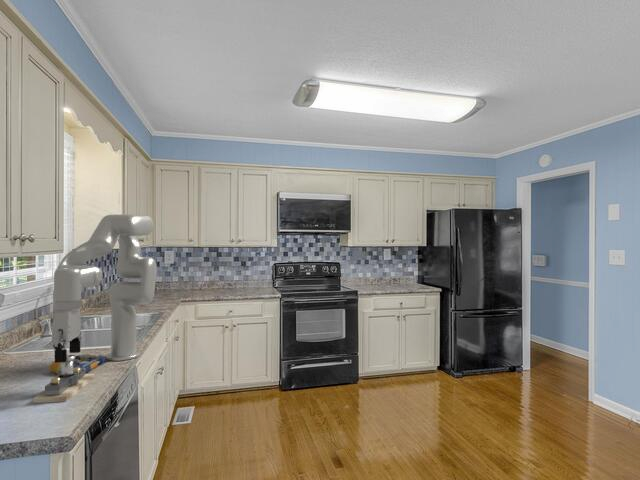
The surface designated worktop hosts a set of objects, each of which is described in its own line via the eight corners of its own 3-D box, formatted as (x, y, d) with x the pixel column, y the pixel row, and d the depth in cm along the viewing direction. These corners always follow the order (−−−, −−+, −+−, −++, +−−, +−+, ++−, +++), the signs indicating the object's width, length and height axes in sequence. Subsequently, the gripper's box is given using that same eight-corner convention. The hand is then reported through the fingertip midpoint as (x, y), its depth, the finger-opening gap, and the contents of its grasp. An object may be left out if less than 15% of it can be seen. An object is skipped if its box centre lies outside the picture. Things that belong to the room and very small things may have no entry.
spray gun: (37, 379, 131) (81, 379, 132) (37, 367, 131) (82, 367, 132) (71, 362, 152) (109, 362, 153) (72, 351, 152) (110, 352, 153)
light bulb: (63, 382, 124) (63, 355, 124) (77, 381, 125) (77, 354, 125) (56, 386, 120) (57, 358, 120) (71, 386, 121) (71, 358, 121)
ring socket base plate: (65, 379, 131) (66, 362, 131) (93, 377, 133) (94, 360, 133) (33, 403, 111) (33, 382, 111) (66, 401, 113) (67, 381, 113)
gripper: (68, 301, 130) (68, 349, 130) (40, 311, 113) (40, 367, 113) (91, 300, 132) (91, 348, 132) (67, 310, 115) (68, 365, 115)
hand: (68, 357), depth 123 cm, fingers open, 9 cm apart
